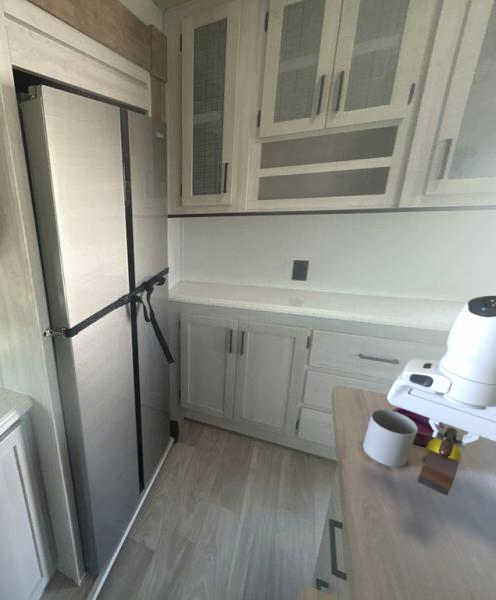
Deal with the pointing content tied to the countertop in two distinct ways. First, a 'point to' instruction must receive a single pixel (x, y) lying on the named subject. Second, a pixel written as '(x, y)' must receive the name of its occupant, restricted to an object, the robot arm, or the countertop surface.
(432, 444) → the lemon
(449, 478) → the brush
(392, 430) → the cup
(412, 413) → the bowl
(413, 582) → the countertop surface
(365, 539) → the countertop surface
